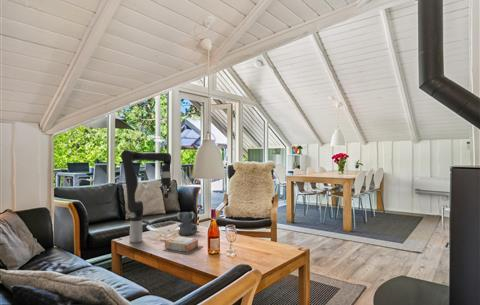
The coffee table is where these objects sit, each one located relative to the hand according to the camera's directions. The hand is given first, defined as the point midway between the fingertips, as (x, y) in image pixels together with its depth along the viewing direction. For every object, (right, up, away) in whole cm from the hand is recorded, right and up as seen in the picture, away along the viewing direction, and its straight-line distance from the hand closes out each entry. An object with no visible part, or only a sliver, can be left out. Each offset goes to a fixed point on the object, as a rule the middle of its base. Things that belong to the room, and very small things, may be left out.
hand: (166, 198), depth 251 cm
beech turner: (+3, -35, -3) cm, 35 cm away
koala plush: (+13, -35, +22) cm, 43 cm away
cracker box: (+7, -32, -17) cm, 36 cm away
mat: (+18, -35, -22) cm, 45 cm away
